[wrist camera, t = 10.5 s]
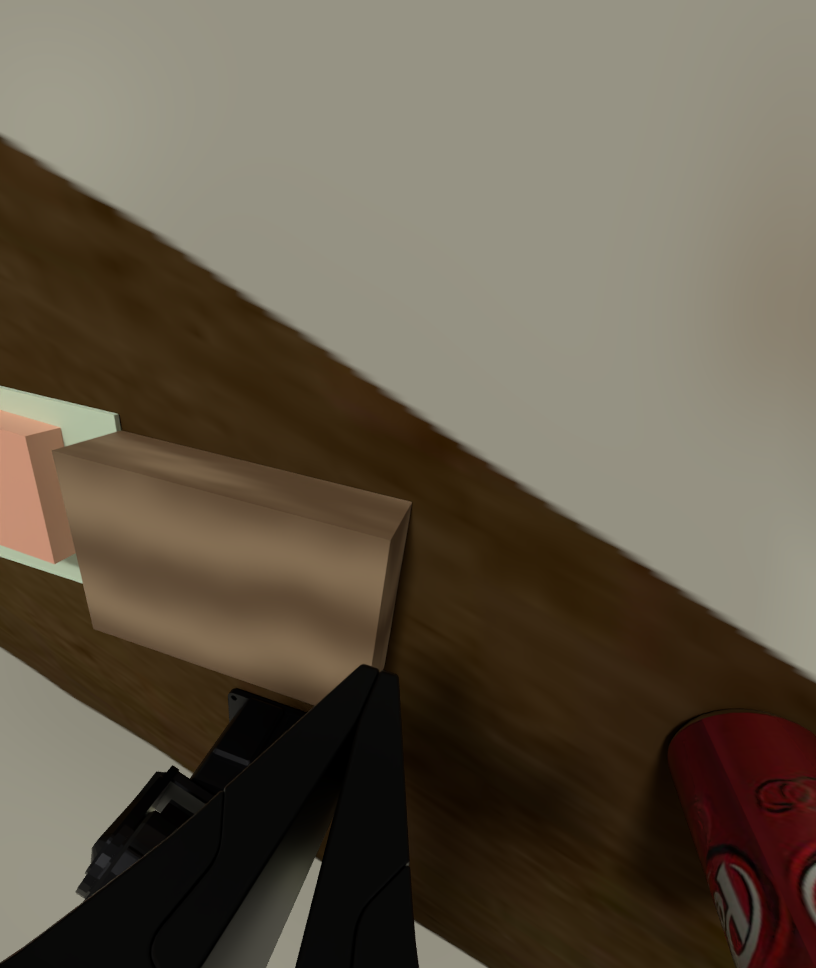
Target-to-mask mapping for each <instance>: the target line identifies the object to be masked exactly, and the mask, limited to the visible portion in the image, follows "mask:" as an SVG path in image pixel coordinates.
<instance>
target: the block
mask: <svg viewBox="0 0 816 968" xmlns="http://www.w3.org/2000/svg"><path fill="white" fill-rule="evenodd" d="M62 447H64V442H63V437H62V432H61V427H57V426H54V425H50V424H47V423H44V422H40V421H37V420H33V419H30V418H27V417H23V416H20V415H16V414H13V413H9V412H6V411H3V410H0V545H2V546H4V547H7V548H10V549H13V550H16V551H19V552H21V553H24V554H27V555H30V556H33V557H35V558H38V559H41V560H44V561H47V562H50V563H52V564H56V563H58V562H60V561H62V560H64V559H66V558H67V557H69V556H71V555H73V554H75V553H76V552H75V548H74V544H73V539H72V535H71V531H70V527H69V522H68V518H67V514H66V510H65V505H64V501H63V497H62V493H61V489H60V484H59V480H58V476H57V472H56V467H55V463H54V459H53V455H52V450H55V449H58V448H62Z"/></svg>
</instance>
